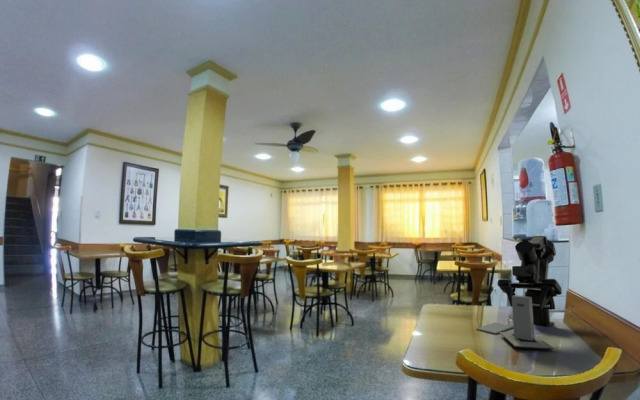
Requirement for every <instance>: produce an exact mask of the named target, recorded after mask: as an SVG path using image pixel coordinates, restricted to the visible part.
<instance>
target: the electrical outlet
mask: <svg viewBox="0 0 640 400" xmlns="http://www.w3.org/2000/svg"><path fill="white" fill-rule="evenodd" d="M499 334H500V335H501V336H502V337H503V338H505V340H506V341H508V342H509V344H511V345H512V346H513V347H515V348H516V349H525V350H526V349H528V350H543V351H544V350H547V351H551V350H553V349H554V346H552V345H551V344H549V343H547V341H545V340H543V339H542V338H541V337H539V336H537V335H536V334H534V336H535V339H534V340H532V341H530V340H525V339H520V338H515V337H514V332H507V331H505V332H500V333H499Z"/></svg>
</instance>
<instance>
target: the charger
mask: <svg viewBox="0 0 640 400" xmlns="http://www.w3.org/2000/svg"><path fill="white" fill-rule="evenodd" d="M511 308H512V309H511V310H512V324H513V325H512V326H514V328H513V333H514V337H515V338H520V339H525V340H530V341H532V340H534V339H535V336H534V335H535V326H534V324H535V323H534V322H533V308H532V297H527V296H525V295H518V294H515V295H514V296H512V307H511Z"/></svg>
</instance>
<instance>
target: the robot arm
mask: <svg viewBox="0 0 640 400" xmlns="http://www.w3.org/2000/svg"><path fill="white" fill-rule="evenodd" d="M514 247H515V251H516V253H517V256H518V259H519V260H520V263H521V264H520V265H513V266H511V270H512V276H513V277H515V280H516V281H518V282H512V280H511V279H510V278H499V279H498V281H497V282H496V283H497V284H496V285H497V287H499V289H500V290H501V291H502V293H504V294H506V295H507V299H508V302H509V306H510V307H511V308H512V296H514V295H516V293H515V292H516V289H526V290H525V292H524V296H527V297H532V308H533V322H534V324H536V325H539V326H544V327H549V326H551V325H554V324H555V322H554V321H551V319H550V318H551V317H550V311H552V310H556V304H555V300H554V297H557V296H561V295H562V293H563V292H562V286H561V285H560V283H559V281H557V279H555V278H548V275H549V274H548V273H549V264H550V263H552V262H554V259H555V256H557V255H556V254H557V251H556V250H557V249H556V247H555V243H553V242H552V241H550V240H549V239H548V237H547V236H545V235H534V236H532V238H531V240H529V239H528V238H525V239H523V238H522V239H521V241H519V242H518V243H516V244H515V245H514Z"/></svg>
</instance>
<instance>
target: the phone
mask: <svg viewBox="0 0 640 400" xmlns="http://www.w3.org/2000/svg"><path fill="white" fill-rule="evenodd" d="M512 329H514V325H510V324H509V325H508V324H504V323H500V322H492V323H490V324H487V325H483V326H481V327H478V328H476V329H475V330H476V331H480V332H483V333H487V334H491V335H495V336H496V335H499V334H500V332H507V331H509V330H512Z"/></svg>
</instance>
